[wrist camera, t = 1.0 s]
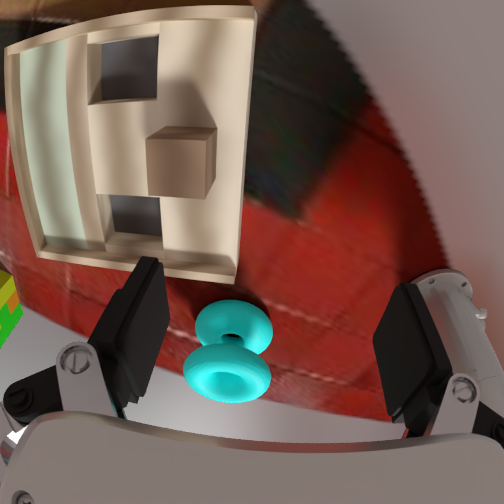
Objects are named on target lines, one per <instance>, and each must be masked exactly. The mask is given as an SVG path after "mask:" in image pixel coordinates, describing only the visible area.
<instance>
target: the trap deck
mask: <svg viewBox="0 0 504 504" xmlns="http://www.w3.org/2000/svg"><path fill="white" fill-rule="evenodd" d="M256 25H257V13H256V11H255V8H254V6H236V5H207V6H184V7H171V8H160V9H151V10H144V11H136V12H130V13H124V14H118V15H113V16H108V17H103V18H98V19H93V20H89V21H85V22H81V23H77V24H73V25H70V26H66V27H62V28H59V29H56V30H52V31H49V32H46V33H43V34H40V35H37V36H34V37H31V38H29V39H26V40H23V41H21V42H18V43H16V44H13V45H11V46H8V47H6V48H5V55H4V71H5V97H6V110H7V121H8V130H9V138H10V145H11V152H12V158H13V164H14V169H15V174H16V179H17V184H18V189H19V193H20V198H21V202H22V206H23V210H24V214H25V218H26V221H27V225H28V229H29V232H30V235H31V239H32V242H33V245H34V248H35V252H36V255H37V257H40V258H46V259H52V260H58V261H64V262H71V263H77V264H84V265H90V266H97V267H104V268H111V269H118V270H125V271H133V269H134V268H135V266H136V264H137V263H138V261H139V259H140V258H141V256H149V257H157V258H158V260H159V262H162V263H163V266H164V275H165V276H169V277H177V278H185V279H193V280H202V281H210V282H219V283H228V284H234V281H235V276H236V271H237V266H238V260H239V249H240V234H241V219H242V204H243V190H244V176H245V162H246V148H247V135H248V122H249V109H250V96H251V84H252V72H253V60H254V48H255V37H256ZM165 126H179V127H208V128H218V132H217V156H216V179H215V181H214V183H213V185H212V187H211V189H210V191H209V193H208V195H207V197H206V199H205V200H202V199H190V198H176V197H162V196H148V185H147V169H146V149H145V139H146V138H148V137H149V136H151V135H152V134H154V133H155V132H157V131H159V130H160V129H162V128H163V127H165Z"/></svg>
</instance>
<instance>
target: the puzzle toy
mask: <svg viewBox="0 0 504 504" xmlns="http://www.w3.org/2000/svg"><path fill="white" fill-rule="evenodd" d="M22 315H23V311H22V308H21V305H20V302H19V299H18V295H17V291H16V288H15V284H14V280H13V276H12V275H11V274H9V273H6V272H4V271H2V270H0V348H1V347H2V345H3V343H4V342H5V340H6V339H7V337H8V336H9V334H10V333H11V331H12V330H13V328H14V327H15V326H16V324H17V323H18V321H19V320H20V318H21V317H22Z"/></svg>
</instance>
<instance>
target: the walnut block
mask: <svg viewBox="0 0 504 504" xmlns="http://www.w3.org/2000/svg"><path fill="white" fill-rule="evenodd" d="M217 132H218V128H208V127H179V126H165V127H163V128H162V129H160V130H159V131H157V132H155V133H154V134H152V135H151V136H149V137H148V138H146V139H145V149H146V169H147V185H148V196H162V197H176V198H190V199H202V200H205V199H206V197H207V195H208V193H209V191H210V189H211V187H212V185H213V183H214V181H215V179H216V156H217Z"/></svg>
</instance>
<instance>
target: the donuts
mask: <svg viewBox="0 0 504 504" xmlns="http://www.w3.org/2000/svg"><path fill="white" fill-rule="evenodd" d="M195 331H196V334H197V337H198V339H199V341H200V342H201V344H202V345H203V346H202V347H200V348H198V349H196V350H194V351H193V352H192V353H191V354H190V355H189V356H188V357H187V359H186V361H185V363H184V367H183V373H184V377H185V379H186V381H187V383H188V384H189V385H190V387H191V388H192V389H194V390H195V391H196V392H197V393H199V394H201V395H202V396H205V397H207V398H209V399H212V400H216V401H220V402H227V403H240V402H247V401H251V400H253V399H256V398H258V397H259V396H261V395H262V394H263V393H264V392H265V391H266V390H267V389H268V387H269V385H270V381H271V373H270V369H269V367H268V365H267V364H266V362H265V361H264V360H263V359H262V358H261V357H260V356H259V355H258V354H260V353H261V352H263V351H264V350H265V349H266V348H267V347H268V345H269V344H270V342H271V339H272V336H273V328H272V324H271V321H270V319H269V318H268V317H267V315H266V314H265V313H264V312H263V311H262V310H261V309H259V308H258V307H256V306H254V305H252V304H250V303H247V302H244V301H239V300H221V301H217V302H214V303H212V304H210V305H208V306H206V307H205V308H204V309H203V310H202V311H201V312H200V313H199V315H198V317H197V319H196V323H195ZM229 333H230V334H236V335H239V336H241V337H231V336H228V335H225V334H229Z"/></svg>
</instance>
